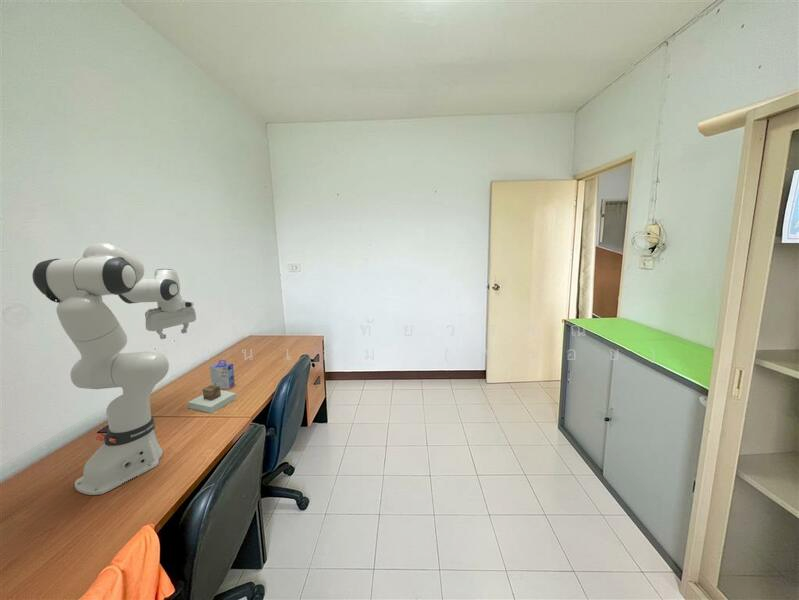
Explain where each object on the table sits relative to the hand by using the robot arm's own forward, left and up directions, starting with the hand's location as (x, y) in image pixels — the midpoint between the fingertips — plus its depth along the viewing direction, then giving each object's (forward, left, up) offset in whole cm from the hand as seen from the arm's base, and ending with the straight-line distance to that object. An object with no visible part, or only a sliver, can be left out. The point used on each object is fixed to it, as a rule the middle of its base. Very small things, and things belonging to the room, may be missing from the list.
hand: (174, 335), depth 141 cm
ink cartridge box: (+21, -1, -34) cm, 40 cm away
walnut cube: (+6, -11, -31) cm, 34 cm away
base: (+6, -11, -34) cm, 36 cm away
